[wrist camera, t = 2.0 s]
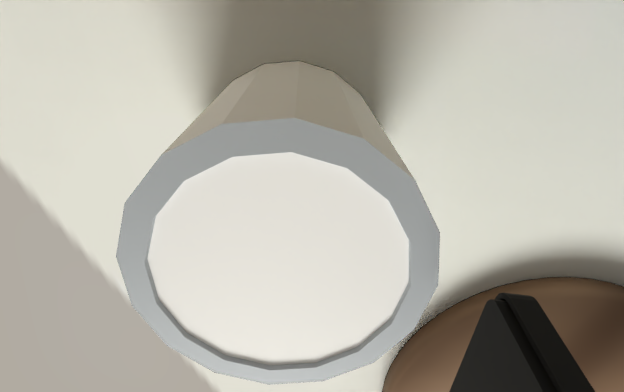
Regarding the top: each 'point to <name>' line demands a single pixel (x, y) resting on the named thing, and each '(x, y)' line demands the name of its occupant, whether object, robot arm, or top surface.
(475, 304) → the brown round coaster
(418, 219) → the white cup
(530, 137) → the top surface
